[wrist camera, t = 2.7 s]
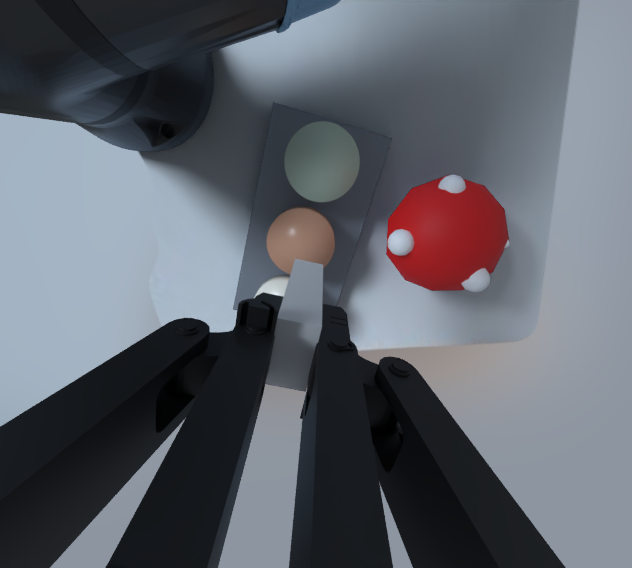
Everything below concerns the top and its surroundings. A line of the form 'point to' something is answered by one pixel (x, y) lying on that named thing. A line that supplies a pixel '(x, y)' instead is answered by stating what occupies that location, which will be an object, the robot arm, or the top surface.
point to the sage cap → (322, 161)
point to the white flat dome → (274, 285)
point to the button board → (307, 203)
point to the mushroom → (448, 235)
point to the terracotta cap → (300, 238)
